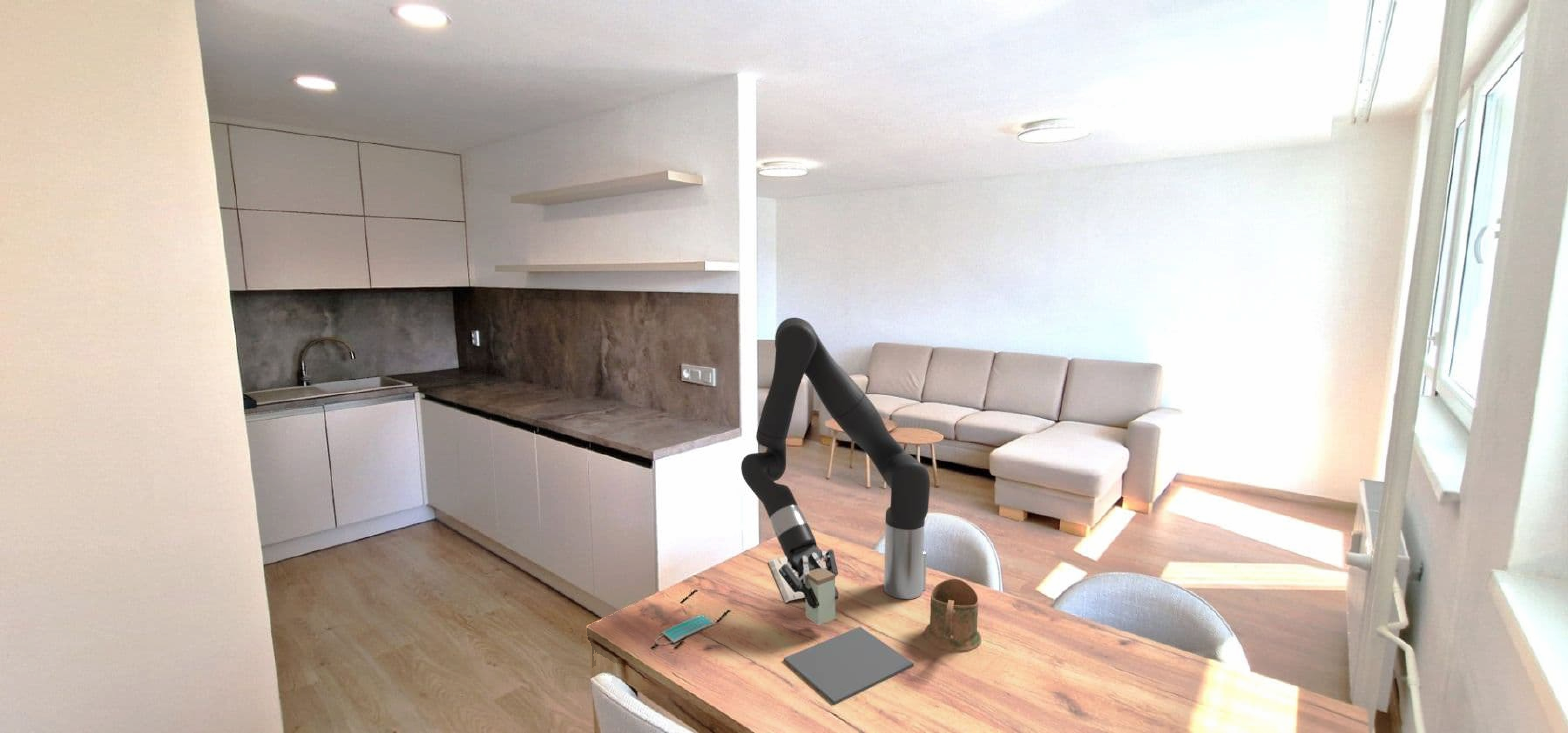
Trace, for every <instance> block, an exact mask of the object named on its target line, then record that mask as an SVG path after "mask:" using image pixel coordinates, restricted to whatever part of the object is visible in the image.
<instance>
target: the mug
mask: <svg viewBox="0 0 1568 733" xmlns="http://www.w3.org/2000/svg"><path fill="white" fill-rule="evenodd" d="M929 605H930V615H929V616H930V617H929V624H927V625H926V627H925V628H924V629H925V630H924V634H925V638H926V640H927V641H928V642H929V643H930V644H932V645H933V646H935V647H937V648H939V649H941V650H944V651H948V652H955V653H965V652H966V651H967V652H971V651H973V649H974V650H976V649H977V648H978V647H979V646H980V645H981V643H982V635H981V633H980V632H979V631H978V617H979V616H978V614H979V597H978V594H977V592H976V590H975V589H974V588H973V587H972V586H971V585H970V584H968V583H967V582H966V581H964V580H962V579H959V578H949V579H946V580H944V581H943V580H942V581H941V582H939V583H937V584H936V585H935V586H934V587H933V589H932V590H931V592H930V604H929Z"/></svg>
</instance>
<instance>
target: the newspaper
mask: <svg viewBox="0 0 1568 733" xmlns="http://www.w3.org/2000/svg"><path fill="white" fill-rule="evenodd" d="M784 564H787V557H786V556H783V557H777V558H772V559H770V560H769V561H768V565H769V567H770V570H771V572H772V574H773V577H774V580H775V582H776V584H777V586H778V587H777V588H778V589H779V591H780V594H781V596H782V598H783V601H784V603H785V604H787V603H788V602H790V601H794V600H799V599H803V598H805V595H804V593H803V592H794V591H793V590H792V589H791V587H790V586H789V585H788V583H787V582H786V581H785V579H784V578H783V577H782V576H781V574H780V573H779V569H780V568H781V567H782V566H783V565H784ZM792 572H793V573H794V574H795V576H796V577H797V578H798V576H797V572H796V571H795V570H794V569H792Z"/></svg>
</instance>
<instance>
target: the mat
mask: <svg viewBox="0 0 1568 733" xmlns="http://www.w3.org/2000/svg"><path fill="white" fill-rule="evenodd" d="M783 661H784V662H785V664H787V665H788V666H789V667H791V669H792V670H794V671H795V672H796V673H798V674H799V675H800V676H801V677H802V678H803V679H804V680H806V682H808V683H809V684H810V685H811V686H812V687H813V688H815V689H816V690H817V691H818V692H820V693H821V695H823V696H824V697H825V698H827V700H829V701H830V702H831V703H832V704H833V705H837V704H839V703H841V702H843V701H845V700H848V699H849V698H851V697H853V696H856V695H857V694H860V693H861V692H864V691H866V690H867V689H869V688H872V687H874V686H876V685H877V684H880V683H883V682H884V681H886V680H888V679H890V678H892V677H894V676H896V675H898V674H901V673H903V672H905V671H906V670H908V669H911V668H913V667H915V663H914V662H913V661H912V660H910V659H909V658H907V657H905V656H904V655H903V654H902V653H899V651H897V650H895V649H894V648H893V647H891V646H889V645H888V644H887V643H885V642H883V641H882V640H881V639H879V638H878V637H876V636H875V635H873V634H872V633H870V632H869V631H867V630H866V629H864V628H863V627H862V626H859V627H856V628H853V629H850V630H849V631H846V632H844V633H841V634H839V635H836V636H834V637H832V638H829V639H826V640H823V641H820V642H819V643H817V644H814V645H811V646H810V647H808V648H805V649H802V650H800V651H797V652H794V653H792V654H790V655H788V656H785V657H783Z"/></svg>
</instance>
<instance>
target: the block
mask: <svg viewBox="0 0 1568 733" xmlns="http://www.w3.org/2000/svg"><path fill="white" fill-rule="evenodd" d="M809 572H810V573H808V580H809V582H810V585H811V587H810V588H812V589H813V591H814V593H815V596H816V598H817V600H818V602H819V606H818V607H817V608H815V609H813V608H812V606H811V607H810V606H809V604H808V602H807V600H806V599H805V617H807V618H808V619H809V620H811V622H812V623H814V624H816V625H817V626H820V625H824V624H826V623H828V622H830V621H831V622H832V621H833V620H836V600H835V586H836V577H835V574H833V573H831V572H830V571H828V570H826V569H825V568H823V569H821V568H817V569H814V570H811V571H809Z"/></svg>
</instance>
